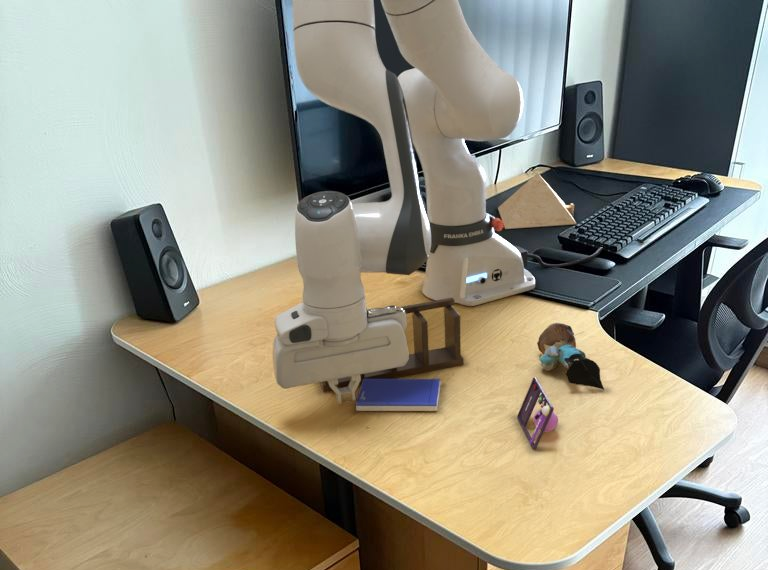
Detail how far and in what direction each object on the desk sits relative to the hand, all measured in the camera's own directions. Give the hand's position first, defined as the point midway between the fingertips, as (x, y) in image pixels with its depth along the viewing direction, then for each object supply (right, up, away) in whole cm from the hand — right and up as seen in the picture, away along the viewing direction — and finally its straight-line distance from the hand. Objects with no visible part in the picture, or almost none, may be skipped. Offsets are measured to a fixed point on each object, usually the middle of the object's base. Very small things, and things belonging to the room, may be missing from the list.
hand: (346, 400), depth 118 cm
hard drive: (+8, 0, +2) cm, 9 cm away
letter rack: (+7, +6, +10) cm, 14 cm away
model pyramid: (+43, +55, +68) cm, 97 cm away
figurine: (+35, +5, +5) cm, 36 cm away
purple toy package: (+28, -6, -8) cm, 30 cm away
